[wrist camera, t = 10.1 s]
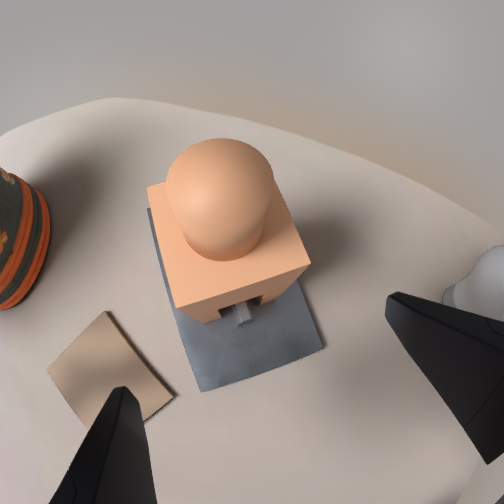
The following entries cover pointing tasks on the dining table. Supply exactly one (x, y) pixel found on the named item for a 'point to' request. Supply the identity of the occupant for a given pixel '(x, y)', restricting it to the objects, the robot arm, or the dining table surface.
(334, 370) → the dining table surface
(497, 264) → the lightbulb
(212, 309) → the arched stamp block
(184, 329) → the grey finned plate
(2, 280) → the beer stein
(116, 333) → the thin square tan tile
